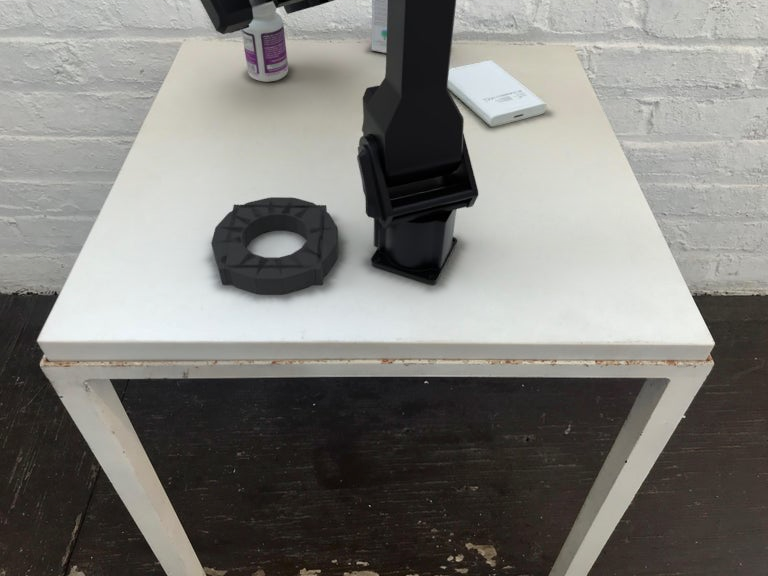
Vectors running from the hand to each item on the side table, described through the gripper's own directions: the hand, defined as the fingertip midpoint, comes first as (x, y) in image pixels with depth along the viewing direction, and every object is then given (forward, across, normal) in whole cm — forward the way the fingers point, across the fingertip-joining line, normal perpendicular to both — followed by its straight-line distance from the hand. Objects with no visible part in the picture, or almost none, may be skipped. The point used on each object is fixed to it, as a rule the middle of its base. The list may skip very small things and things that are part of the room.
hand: (256, 19), depth 79 cm
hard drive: (-13, -18, +22) cm, 32 cm away
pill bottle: (+4, 0, +6) cm, 7 cm away
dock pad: (-17, +19, +27) cm, 37 cm away
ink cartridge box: (-1, -20, +11) cm, 22 cm away
